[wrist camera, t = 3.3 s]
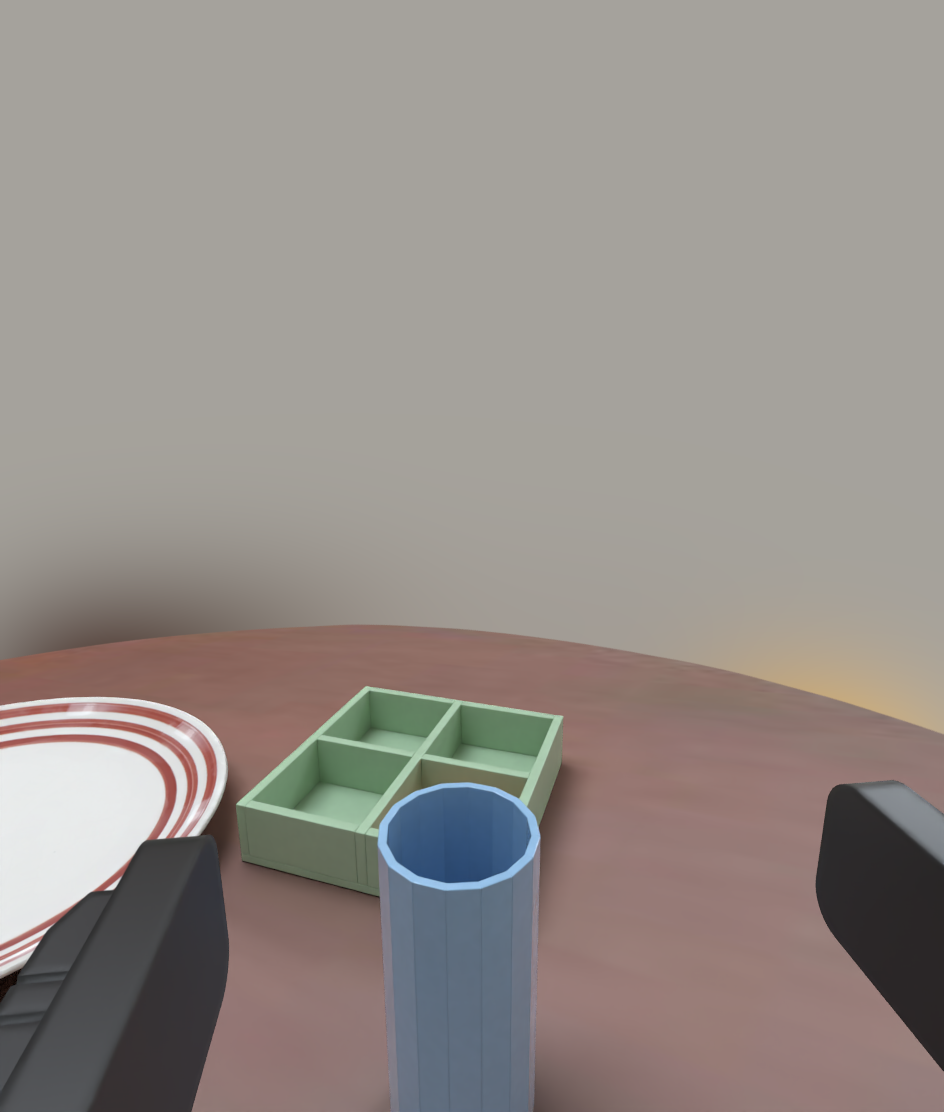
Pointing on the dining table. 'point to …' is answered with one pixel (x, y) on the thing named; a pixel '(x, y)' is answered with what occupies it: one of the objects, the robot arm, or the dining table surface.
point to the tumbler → (460, 949)
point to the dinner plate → (91, 801)
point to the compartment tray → (388, 778)
